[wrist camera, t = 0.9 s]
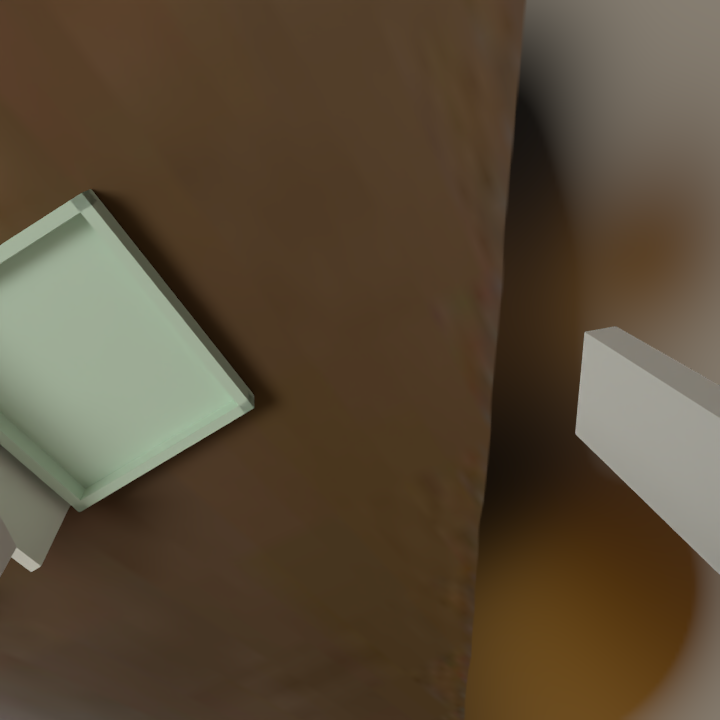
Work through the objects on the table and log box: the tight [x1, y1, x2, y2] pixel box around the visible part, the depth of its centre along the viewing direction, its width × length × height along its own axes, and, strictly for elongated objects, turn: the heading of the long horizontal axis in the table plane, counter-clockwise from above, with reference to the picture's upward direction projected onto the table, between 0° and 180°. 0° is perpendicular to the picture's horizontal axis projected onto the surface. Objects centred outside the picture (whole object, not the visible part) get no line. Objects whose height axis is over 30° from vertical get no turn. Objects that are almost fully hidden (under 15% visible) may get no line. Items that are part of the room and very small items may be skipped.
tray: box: [0, 189, 254, 512], centre depth 35 cm, size 18×16×2 cm
